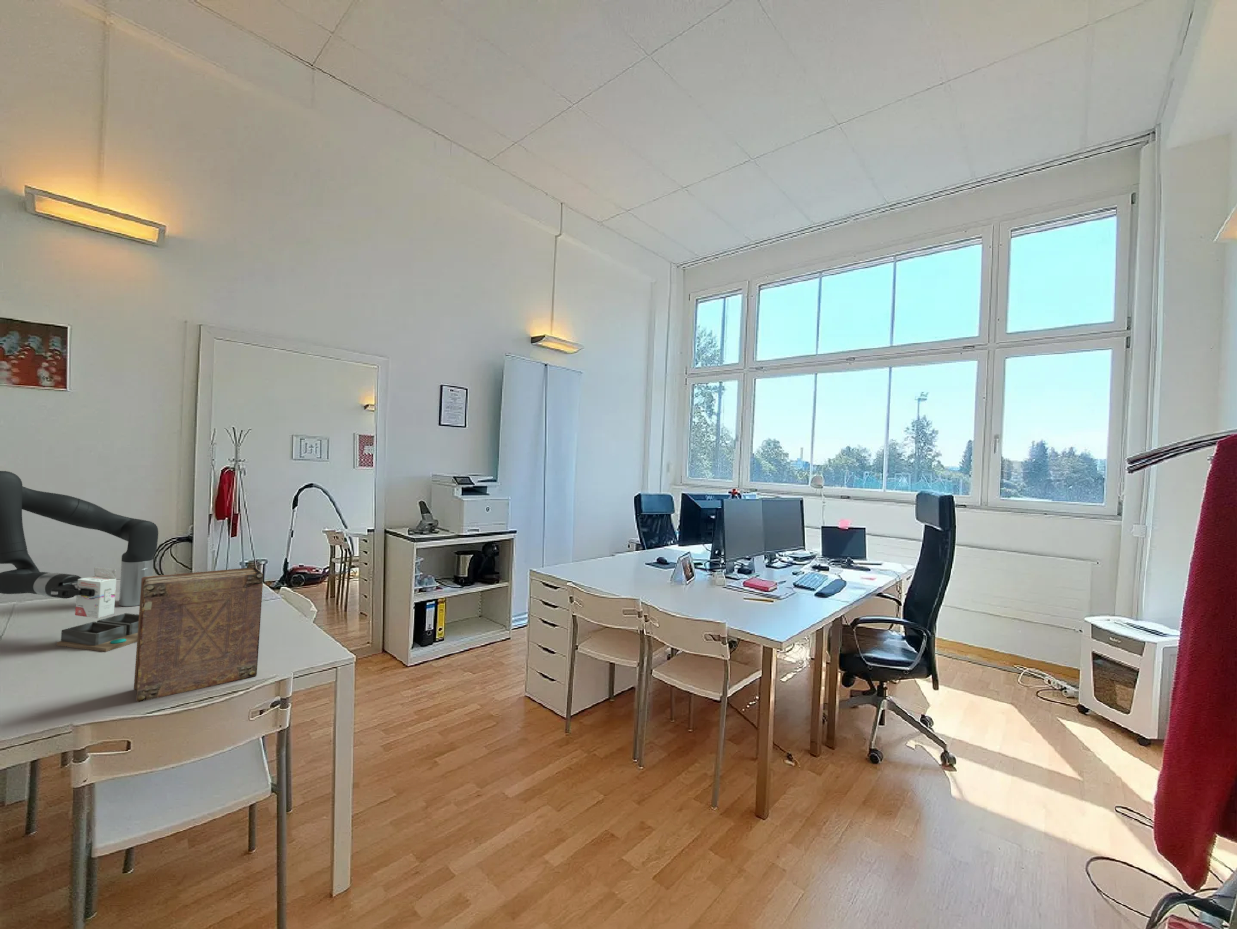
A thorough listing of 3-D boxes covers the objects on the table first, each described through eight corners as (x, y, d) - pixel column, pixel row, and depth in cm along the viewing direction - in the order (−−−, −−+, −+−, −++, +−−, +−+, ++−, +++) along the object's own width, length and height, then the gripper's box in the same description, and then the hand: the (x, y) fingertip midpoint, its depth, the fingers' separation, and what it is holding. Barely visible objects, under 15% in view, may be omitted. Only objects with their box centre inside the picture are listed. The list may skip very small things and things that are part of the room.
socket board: (127, 625, 175) (128, 612, 175) (172, 630, 173) (172, 617, 173) (56, 645, 155) (57, 631, 155) (106, 651, 153) (107, 637, 153)
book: (135, 703, 125) (142, 584, 125) (133, 689, 132) (140, 577, 132) (257, 676, 144) (263, 572, 143) (250, 665, 150) (256, 566, 150)
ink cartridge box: (73, 615, 157) (76, 569, 157) (91, 611, 162) (94, 566, 162) (97, 618, 156) (100, 572, 156) (114, 614, 161) (118, 569, 161)
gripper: (30, 578, 154) (77, 584, 152) (85, 569, 168) (129, 574, 166) (29, 602, 154) (75, 609, 152) (84, 591, 168) (127, 596, 166)
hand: (103, 591), depth 159 cm, fingers closed on ink cartridge box, 5 cm apart
